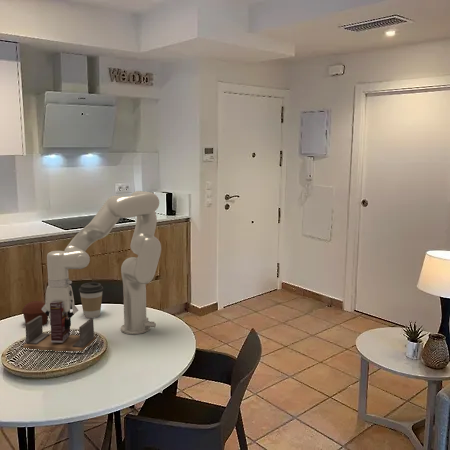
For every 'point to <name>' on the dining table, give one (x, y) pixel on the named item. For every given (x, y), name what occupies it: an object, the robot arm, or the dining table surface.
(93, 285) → the coffee cup
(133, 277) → the robot arm
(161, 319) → the dining table surface
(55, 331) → the supplement box
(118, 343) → the dining table surface
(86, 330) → the shelf
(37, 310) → the muffin
